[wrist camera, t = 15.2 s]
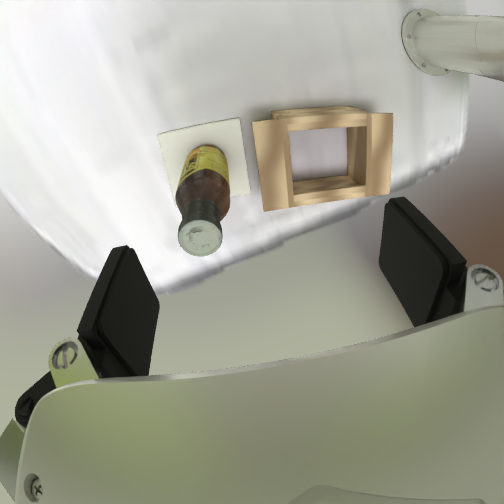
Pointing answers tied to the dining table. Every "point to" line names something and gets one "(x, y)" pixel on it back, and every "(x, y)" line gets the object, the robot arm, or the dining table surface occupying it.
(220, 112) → the dining table surface
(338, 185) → the carton
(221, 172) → the sauce bottle
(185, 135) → the mat
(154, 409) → the robot arm
